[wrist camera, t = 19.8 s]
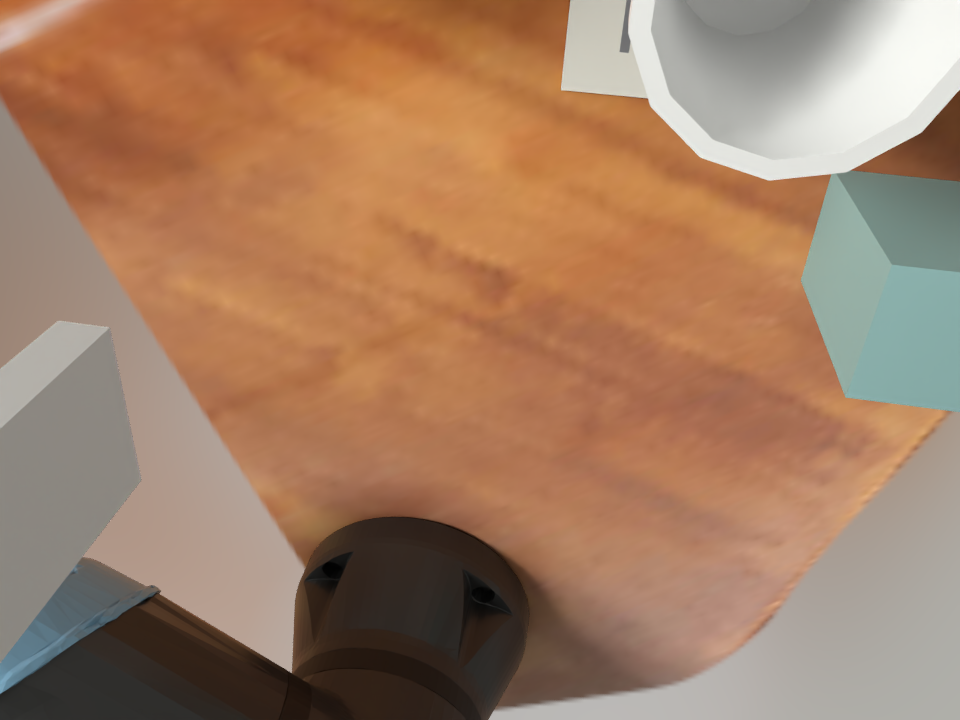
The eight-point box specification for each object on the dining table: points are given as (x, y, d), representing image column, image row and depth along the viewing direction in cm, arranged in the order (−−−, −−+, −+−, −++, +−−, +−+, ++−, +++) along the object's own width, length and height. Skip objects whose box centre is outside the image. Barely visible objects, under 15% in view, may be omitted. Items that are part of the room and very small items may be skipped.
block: (800, 280, 40) (845, 397, 31) (833, 168, 37) (891, 264, 29) (921, 294, 39) (999, 417, 31) (963, 182, 36) (1062, 283, 28)
